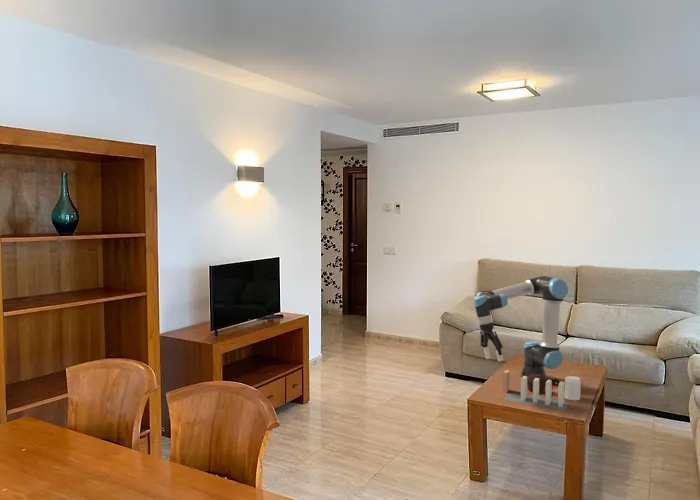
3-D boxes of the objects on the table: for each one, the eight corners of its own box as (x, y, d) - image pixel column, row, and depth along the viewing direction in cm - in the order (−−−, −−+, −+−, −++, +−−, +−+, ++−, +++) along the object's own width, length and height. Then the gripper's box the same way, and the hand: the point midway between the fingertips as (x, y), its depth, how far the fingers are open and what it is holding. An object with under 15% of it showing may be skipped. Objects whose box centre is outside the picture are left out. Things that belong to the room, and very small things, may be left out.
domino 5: (558, 406, 292) (558, 384, 291) (559, 403, 297) (560, 381, 296) (561, 407, 291) (562, 384, 290) (563, 403, 296) (564, 381, 295)
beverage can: (569, 395, 311) (569, 374, 310) (583, 399, 304) (583, 378, 303) (561, 398, 306) (562, 377, 305) (575, 402, 299) (575, 381, 298)
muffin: (548, 390, 319) (549, 373, 319) (544, 396, 310) (545, 378, 309) (527, 387, 325) (528, 371, 325) (523, 392, 316) (523, 375, 315)
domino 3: (532, 402, 298) (533, 380, 297) (535, 399, 303) (535, 377, 303) (536, 402, 297) (536, 381, 296) (538, 399, 302) (539, 378, 302)
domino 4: (545, 404, 295) (545, 382, 294) (547, 401, 300) (547, 379, 299) (549, 405, 294) (549, 383, 293) (551, 401, 299) (551, 380, 298)
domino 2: (520, 400, 302) (520, 378, 301) (523, 397, 307) (523, 376, 306) (524, 400, 300) (524, 379, 300) (526, 397, 306) (527, 376, 305)
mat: (509, 393, 314) (509, 392, 314) (568, 403, 298) (568, 402, 298) (503, 400, 303) (503, 399, 303) (564, 410, 287) (564, 409, 287)
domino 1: (503, 393, 315) (503, 372, 315) (505, 390, 321) (506, 370, 320) (506, 393, 314) (506, 373, 314) (509, 390, 320) (509, 370, 319)
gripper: (469, 323, 324) (478, 358, 324) (491, 325, 300) (500, 363, 300) (480, 320, 326) (488, 355, 326) (503, 322, 302) (512, 359, 302)
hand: (494, 359), depth 313 cm, fingers open, 13 cm apart
